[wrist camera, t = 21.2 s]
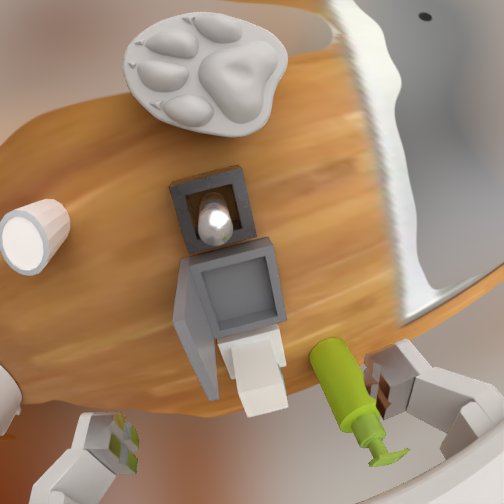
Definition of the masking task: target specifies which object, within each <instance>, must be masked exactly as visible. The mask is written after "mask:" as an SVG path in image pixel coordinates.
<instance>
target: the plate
mask: <svg viewBox="0 0 504 504" xmlns="http://www.w3.org/2000/svg"><path fill="white" fill-rule="evenodd" d="M266 338H269V340H270V343H271V346H272V349H273V352H274V356H275V359H276V362H277V364H279V367H284V366H287V365H286V360H285V355H284V350H283V345H282V340H281V335H280V330H279V327H278V324H273V325H270V326H266V327H262V328H258V329H254V330H250V331H246V332H242V333H238V334H234V335H230V336H226V337H222V338H218V339H217V341H218V346H219V349H220V352H221V354H222V357H223V360H224V362H225V365H226V367H227V370H228V373H229V375H230V378H231V380H232V379H236V377H235V370H234V364H233V358H232V351H231V347H235V346H239V345H243V344H247V343H251V342H255V341H259V340H263V339H266Z"/></svg>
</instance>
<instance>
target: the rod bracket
mask: <svg viewBox="0 0 504 504" xmlns="http://www.w3.org/2000/svg"><path fill="white" fill-rule="evenodd" d="M228 184H231V186H232V191H233V195H234V199H235V204H236V208H237V212H238V216H239V220H237V221H233V222H232V225H233V233H232V236H231V238H230V239H229V240H228V241H227V242H226V243H224V244H222V245H226V244H230V243H234V242H238V241H242V240H246V239H250V238H254V237H257V235H256V230H255V225H254V221H253V216H252V211H251V207H250V202H249V198H248V193H247V189H246V184H245V179H244V175H243V170H242V168H241V167H240V166H239V165H236V166H231V167H227V168H223V169H219V170H215V171H211V172H207V173H203V174H199V175H195V176H192V177H188V178H184V179H180V180H177V181H173V182H172V183H171V185H170V186H169V188H170V192H171V196H172V199H173V203H174V206H175V210H176V213H177V216H178V220H179V223H180V227H181V230H182V233H183V237H184V240H185V243H186V246H187V250H188V253H189V254H191V253H195V252H199V251H203V250H206V249H210V248H214V247H218V246H212V245H208V244H206V243H205V242H204V241H203V240H202V239H201V238H200V236H199V233H198V230H197V226H196V223H195V219H194V216H193V212H192V208H191V205H190V201H189V197H188V195H189V194H193V193H197V192H200V191H204V190H208V189H212V188H216V187H220V186H224V185H228ZM222 245H219V246H222Z"/></svg>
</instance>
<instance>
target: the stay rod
mask: <svg viewBox="0 0 504 504" xmlns="http://www.w3.org/2000/svg"><path fill="white" fill-rule="evenodd" d="M198 233H199V236H200V238H201V239H202V240H203V241H204V242H205V243H206V244H208V245H212V246H219V245H222V244H224V243H226V242H227V241H228V240H229V239H230V238H231V236H232V233H233V225H232V221H231V218H230V215H229V211H228V208H227V204H226V201H225V199H224V197H223V196H222V195H220V194H218V193H214V192H213V193H208V194H206V195H205V196H203V197H202V199H201V201H200V207H199V223H198Z"/></svg>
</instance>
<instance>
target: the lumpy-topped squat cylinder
mask: <svg viewBox="0 0 504 504" xmlns="http://www.w3.org/2000/svg"><path fill="white" fill-rule="evenodd" d="M287 64H288V55H287V52H286V50H285V48H284V46H283V45H282V43H281V42H280V40H279V39H278V38H277V37H276V36H275V35H273V34H272V33H270V32H269V31H267V30H266V29H264V28H261V27H259V26H257V25H254V24H251V23H249V22H246V21H244V20H241V19H237V18H234V17H230V16H227V15H225V14H219V13H209V12H192V13H187V14H182V15H178V16H174V17H171V18H167V19H164V20H161V21H159V22H157V23H155V24H153V25H152V26H150V27H148V28H147V29H145V30H144V31H143V32H141V33H140V34H139V35H138V36H136V37H135V38H134V39H133V40H132V42H131V43H130V44H129V46H128V47H127V49H126V52H125V54H124V58H123V73H124V77H125V81H126V83H127V85H128V88H129V90H130V92H131V93H132V95H133V96H134V97H135V99H136V100H137V101H138V102H139V103H140V104H141V105H142V106H143V107H144V108H145V109H146V110H147V111H148V112H149V113H151V114H152V115H153V116H154V117H155V118H157V119H158V120H160V121H162V122H165V123H167V124H170V125H173V126H176V127H179V128H183V129H186V130H190V131H194V132H198V133H203V134H209V135H215V136H221V137H229V138H238V137H244V136H248V135H250V134H253V133H255V132H257V131H258V130H260V129H261V128H262V127H263V126H264V125H265V124H266V123H267V121H268V119H269V117H270V113H271V110H272V103H273V96H274V92H275V89H276V87H277V85H278V83H279V81H280V79H281V78H282V76H283V74H284V72H285V70H286V68H287Z"/></svg>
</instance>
